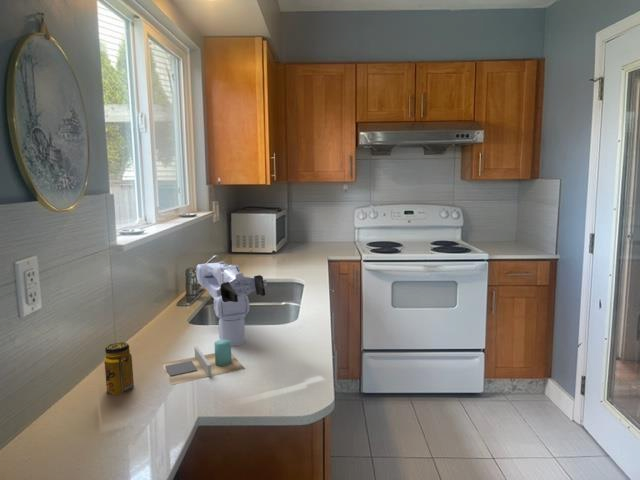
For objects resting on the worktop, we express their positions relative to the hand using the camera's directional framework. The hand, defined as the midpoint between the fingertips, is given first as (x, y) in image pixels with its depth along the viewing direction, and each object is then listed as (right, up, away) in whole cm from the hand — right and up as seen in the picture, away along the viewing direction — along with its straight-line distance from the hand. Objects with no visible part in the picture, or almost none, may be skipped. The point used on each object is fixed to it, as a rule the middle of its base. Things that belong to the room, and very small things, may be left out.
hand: (250, 295), depth 119 cm
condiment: (-29, -23, -10) cm, 38 cm away
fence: (-13, -20, +2) cm, 24 cm away
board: (-13, -21, +2) cm, 24 cm away
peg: (-8, -19, +3) cm, 21 cm away
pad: (-19, -20, 0) cm, 27 cm away
